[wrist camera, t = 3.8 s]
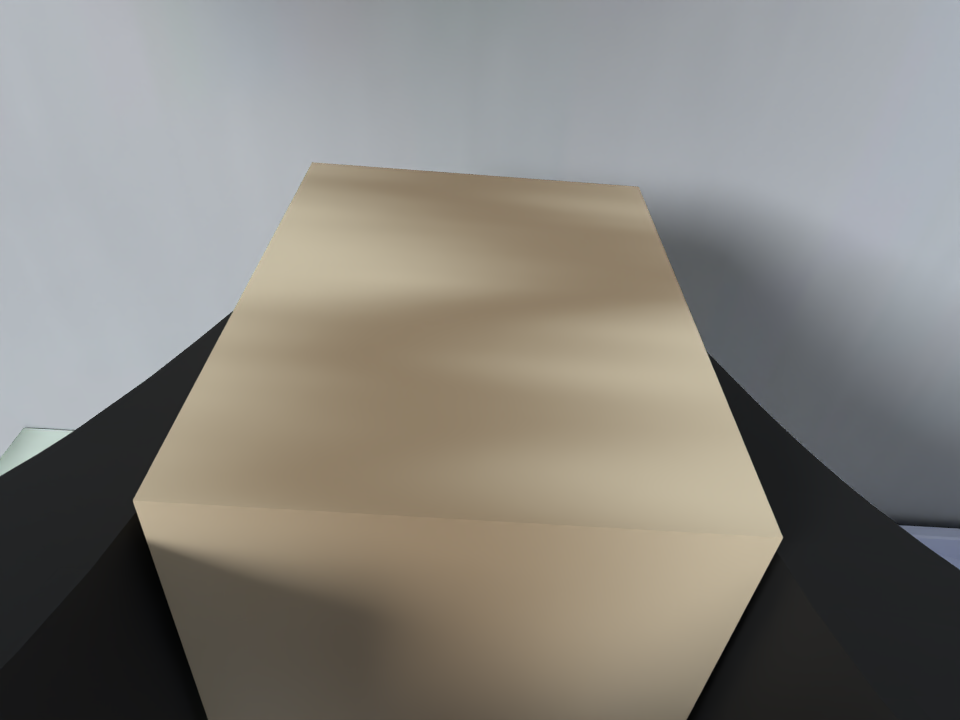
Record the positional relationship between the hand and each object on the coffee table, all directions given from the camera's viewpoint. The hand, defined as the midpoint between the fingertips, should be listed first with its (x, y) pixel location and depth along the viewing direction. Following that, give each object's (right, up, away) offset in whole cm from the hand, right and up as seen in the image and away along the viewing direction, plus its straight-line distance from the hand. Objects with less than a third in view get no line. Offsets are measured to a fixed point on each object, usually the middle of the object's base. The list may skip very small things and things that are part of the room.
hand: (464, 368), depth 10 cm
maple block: (0, +1, +1) cm, 1 cm away
